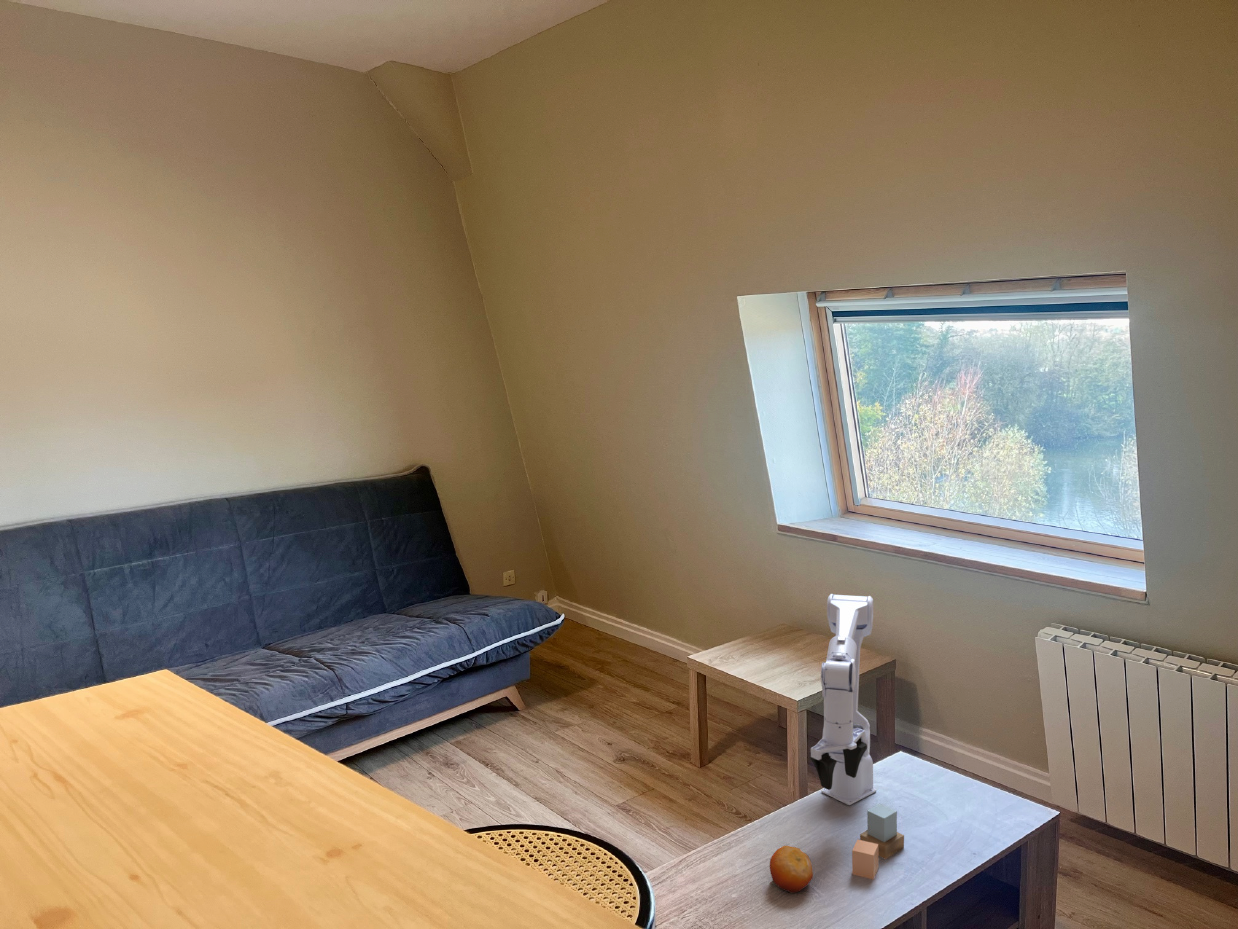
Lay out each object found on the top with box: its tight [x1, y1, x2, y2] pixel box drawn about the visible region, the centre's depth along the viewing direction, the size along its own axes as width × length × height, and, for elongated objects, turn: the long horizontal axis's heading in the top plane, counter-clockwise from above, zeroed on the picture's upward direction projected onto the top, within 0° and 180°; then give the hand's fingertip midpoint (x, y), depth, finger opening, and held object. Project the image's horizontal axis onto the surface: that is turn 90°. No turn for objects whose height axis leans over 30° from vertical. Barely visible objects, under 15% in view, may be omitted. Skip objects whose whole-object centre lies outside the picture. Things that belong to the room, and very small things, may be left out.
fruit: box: [769, 845, 814, 894], centre depth 171 cm, size 8×8×8 cm
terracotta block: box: [851, 839, 879, 881], centre depth 174 cm, size 4×4×5 cm
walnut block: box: [859, 829, 905, 860], centre depth 182 cm, size 6×6×3 cm
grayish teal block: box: [866, 803, 898, 842], centre depth 181 cm, size 4×4×5 cm
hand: (838, 781), depth 187 cm, fingers open, 7 cm apart
